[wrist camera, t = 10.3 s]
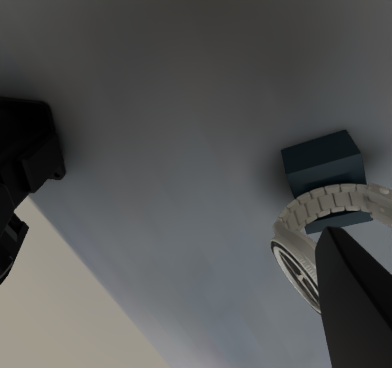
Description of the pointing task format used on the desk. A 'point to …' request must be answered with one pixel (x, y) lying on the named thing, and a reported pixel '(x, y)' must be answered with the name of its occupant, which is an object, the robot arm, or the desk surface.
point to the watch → (323, 204)
